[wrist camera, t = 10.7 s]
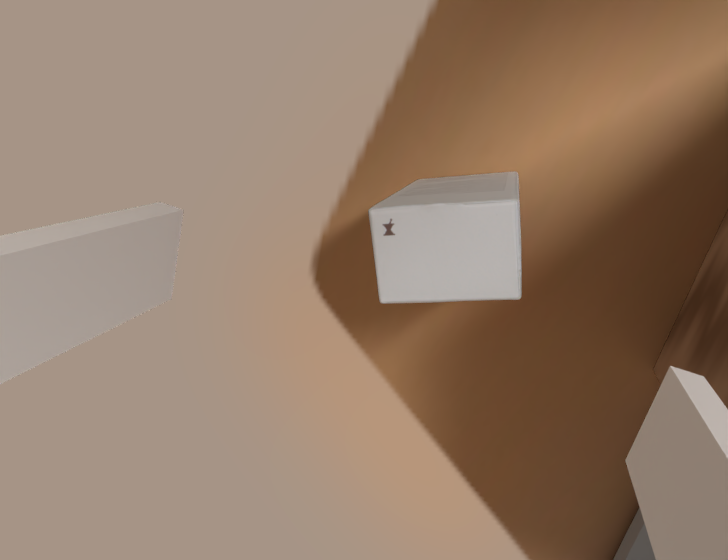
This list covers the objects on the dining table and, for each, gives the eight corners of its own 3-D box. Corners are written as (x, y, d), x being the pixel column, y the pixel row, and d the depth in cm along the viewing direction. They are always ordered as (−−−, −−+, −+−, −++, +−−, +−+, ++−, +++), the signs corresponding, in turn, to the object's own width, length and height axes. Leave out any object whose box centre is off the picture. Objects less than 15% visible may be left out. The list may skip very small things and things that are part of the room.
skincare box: (422, 247, 35) (374, 305, 24) (416, 178, 34) (363, 205, 23) (523, 242, 33) (523, 303, 22) (521, 169, 32) (519, 194, 21)
